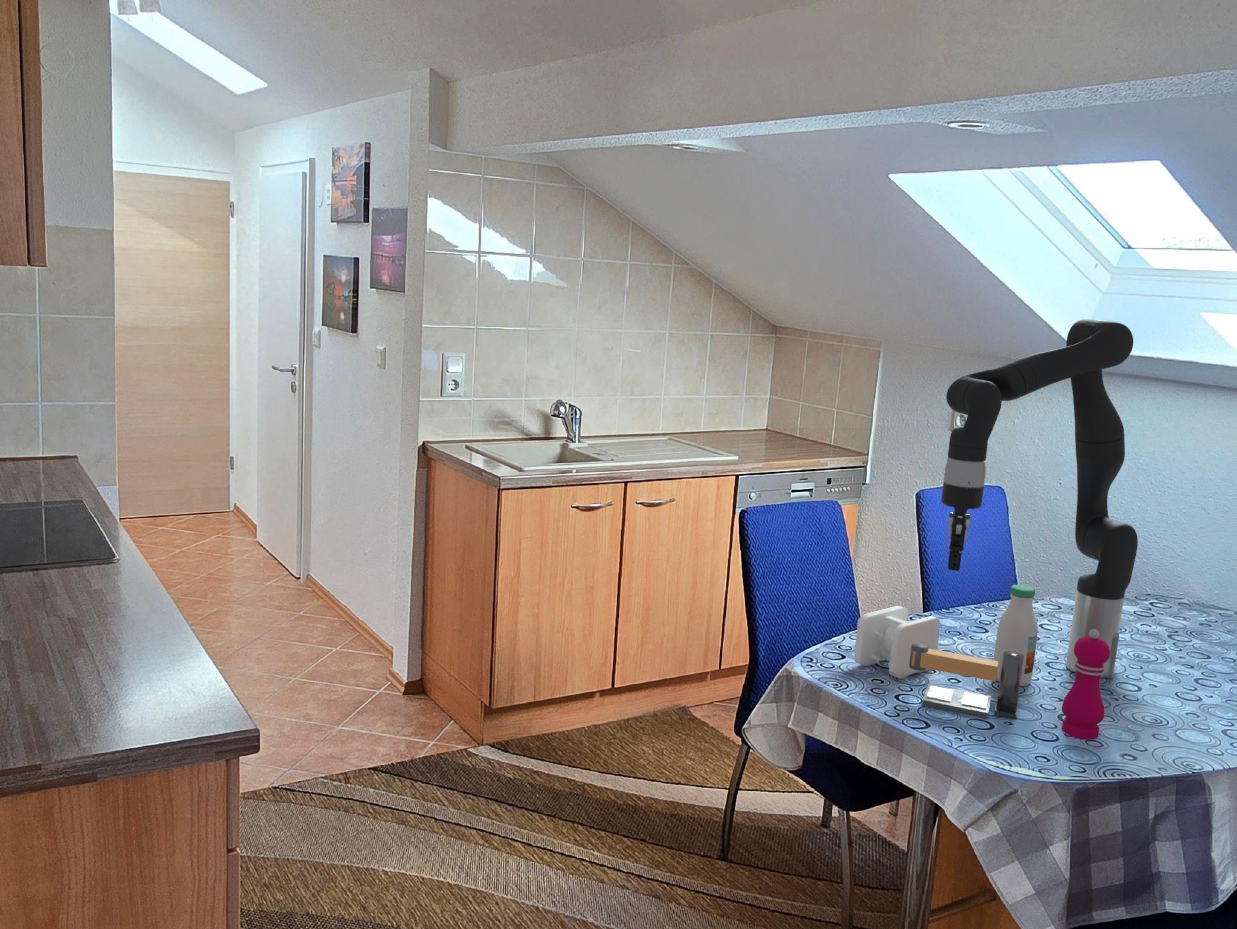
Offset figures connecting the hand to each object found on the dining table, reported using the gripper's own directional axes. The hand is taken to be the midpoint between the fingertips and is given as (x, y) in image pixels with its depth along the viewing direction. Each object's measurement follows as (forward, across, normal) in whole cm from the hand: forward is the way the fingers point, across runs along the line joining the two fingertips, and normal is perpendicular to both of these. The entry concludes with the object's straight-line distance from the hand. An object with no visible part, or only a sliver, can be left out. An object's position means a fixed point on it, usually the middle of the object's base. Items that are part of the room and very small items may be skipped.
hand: (953, 566), depth 206 cm
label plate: (+25, -7, -3) cm, 26 cm away
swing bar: (+19, -7, -2) cm, 21 cm away
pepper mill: (+25, -11, -25) cm, 37 cm away
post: (+25, -8, -12) cm, 29 cm away
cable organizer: (+25, +7, +9) cm, 28 cm away
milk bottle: (+25, +11, -14) cm, 31 cm away
